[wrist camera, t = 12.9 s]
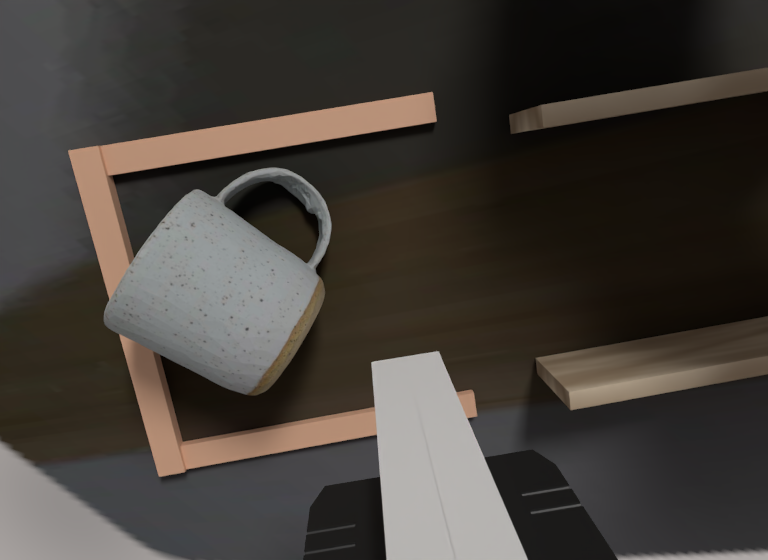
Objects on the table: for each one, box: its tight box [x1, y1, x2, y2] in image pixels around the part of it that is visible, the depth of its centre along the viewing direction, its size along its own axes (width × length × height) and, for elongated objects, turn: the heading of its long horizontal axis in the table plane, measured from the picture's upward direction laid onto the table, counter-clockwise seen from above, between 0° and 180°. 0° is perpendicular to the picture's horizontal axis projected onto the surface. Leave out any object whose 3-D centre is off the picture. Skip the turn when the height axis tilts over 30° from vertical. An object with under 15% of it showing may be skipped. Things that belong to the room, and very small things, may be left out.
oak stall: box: [509, 68, 768, 410], centre depth 29 cm, size 15×20×5 cm
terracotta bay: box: [68, 92, 477, 477], centre depth 30 cm, size 18×19×1 cm
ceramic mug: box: [104, 168, 331, 396], centre depth 27 cm, size 11×8×8 cm
